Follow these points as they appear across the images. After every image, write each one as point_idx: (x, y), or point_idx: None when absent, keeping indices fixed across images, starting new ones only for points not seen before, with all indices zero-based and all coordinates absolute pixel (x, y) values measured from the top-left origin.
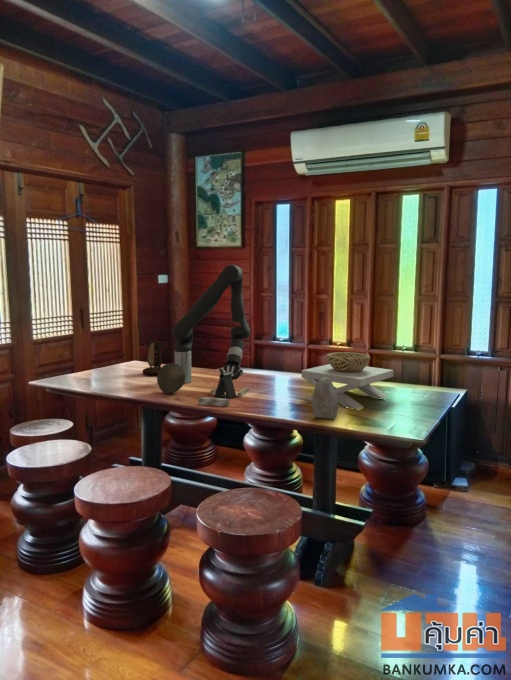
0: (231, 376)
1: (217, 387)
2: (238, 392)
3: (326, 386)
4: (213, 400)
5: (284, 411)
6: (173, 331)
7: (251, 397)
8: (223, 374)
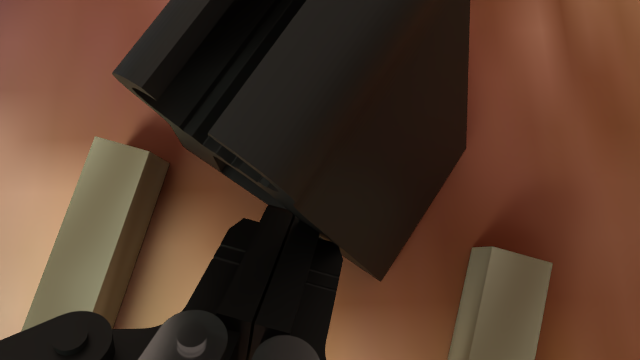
0: (150, 106)
1: (462, 76)
2: (139, 171)
3: None
4: None
5: None
6: None
7: (4, 136)
8: None
